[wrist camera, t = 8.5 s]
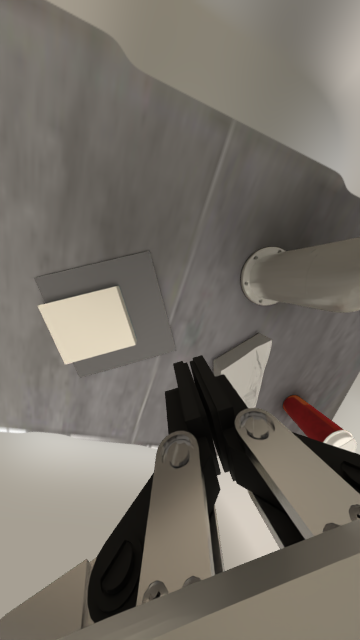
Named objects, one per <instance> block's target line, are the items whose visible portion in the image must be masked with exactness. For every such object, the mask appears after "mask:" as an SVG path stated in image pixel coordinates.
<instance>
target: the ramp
mask: <svg viewBox="0 0 360 640" xmlns="http://www.w3.org/2000/svg"><path fill="white" fill-rule="evenodd" d="M271 344H272V339H270V338H268V337H266V336H264V335H262V334H261V333H258V334H257V335H255V336H253V337H252V338H250V339H249V340H247V341H245V342H244V343H242V344H240V345H238V346H237V347H235V348H233V349H232V350H230V351H228V352H227V353H225V354H223V355H222V356H220V357H219V358H217V359H215V360H213V364H214V365H213V374H214V376H219V375H222V374H224V375H225V376H226V377H227V379H228V380H229V382H230V383H231V384H232V386H233V387H234V389H235V390H236V391H237V393H238V394H239V396H240V397H241V398H242V400H243V401H244V403H245V404H246V405H247V407H248V408H255V406H256V403H257V399H258V394H259V391H260V387H261V383H262V378H263V373H264V369H265V366H266V363H267V360H268V357H269V354H270V350H271Z"/></svg>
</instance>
